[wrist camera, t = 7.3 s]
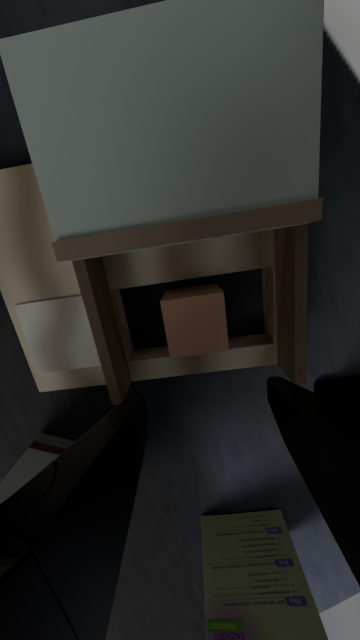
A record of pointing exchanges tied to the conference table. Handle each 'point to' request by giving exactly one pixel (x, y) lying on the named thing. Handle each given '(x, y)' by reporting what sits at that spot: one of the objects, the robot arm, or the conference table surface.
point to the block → (195, 320)
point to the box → (255, 580)
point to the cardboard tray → (131, 271)
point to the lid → (172, 122)
